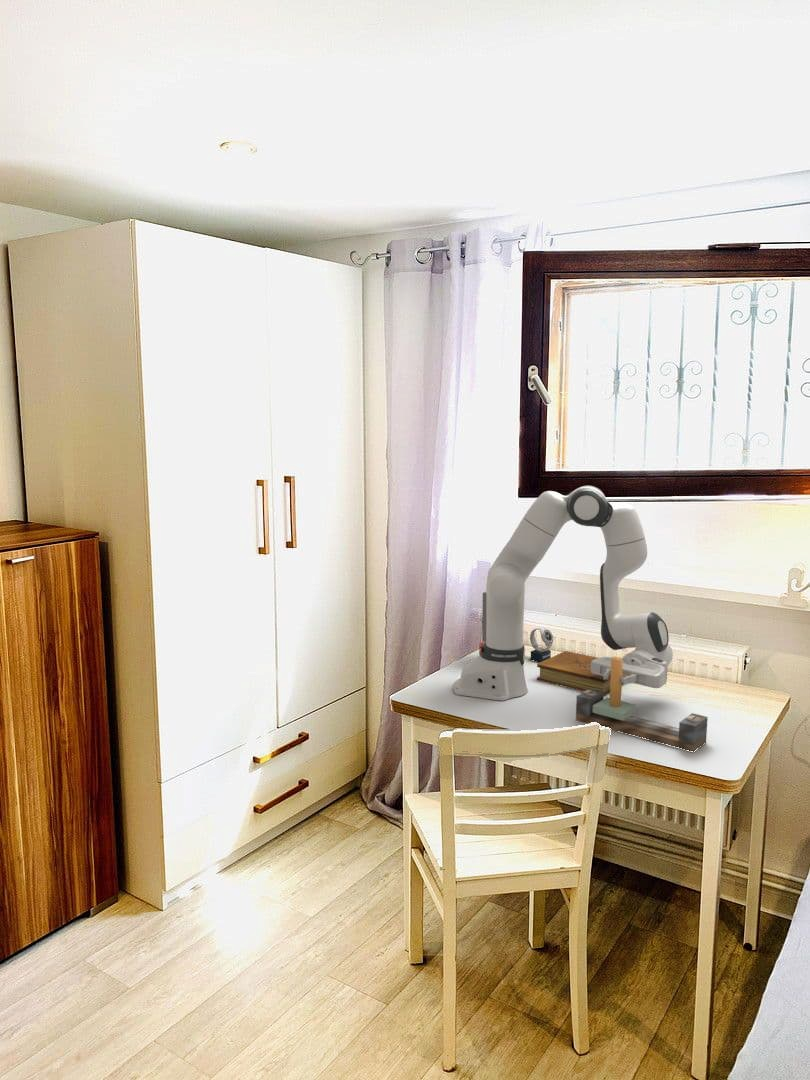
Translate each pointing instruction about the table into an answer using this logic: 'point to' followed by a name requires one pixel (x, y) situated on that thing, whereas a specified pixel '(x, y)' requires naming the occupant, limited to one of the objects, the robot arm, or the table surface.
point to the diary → (572, 672)
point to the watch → (541, 653)
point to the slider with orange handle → (615, 696)
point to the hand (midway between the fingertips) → (614, 679)
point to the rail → (645, 724)
